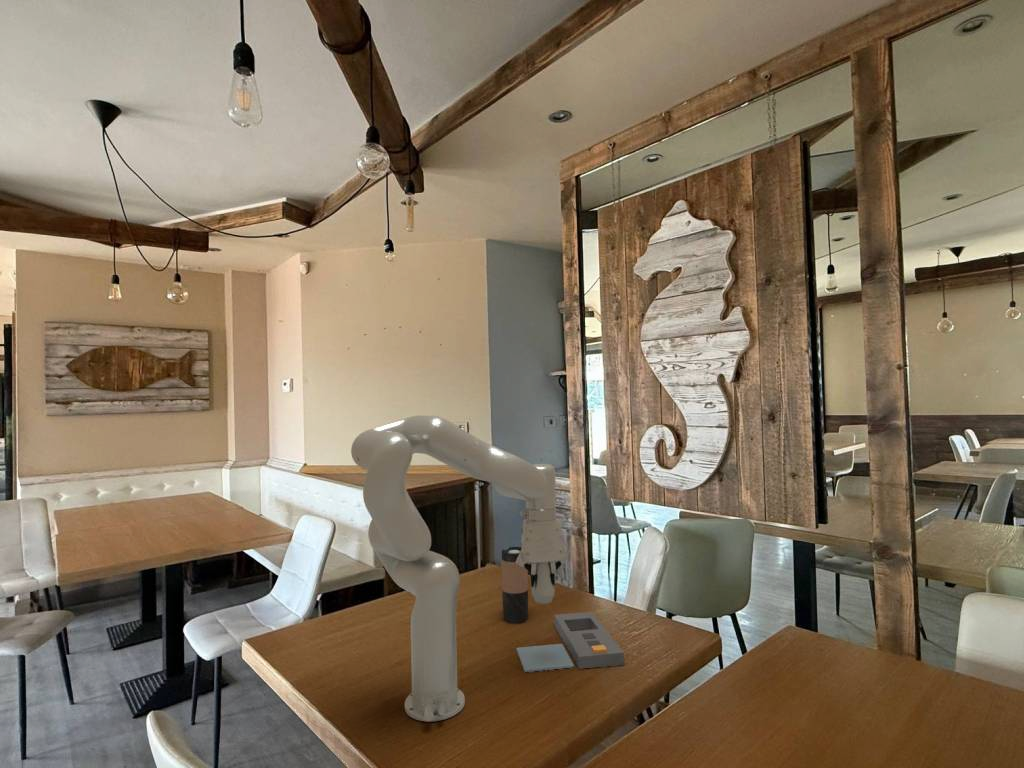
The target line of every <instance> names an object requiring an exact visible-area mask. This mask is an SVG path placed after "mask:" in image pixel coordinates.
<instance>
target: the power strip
mask: <svg viewBox="0 0 1024 768" xmlns="http://www.w3.org/2000/svg"><path fill="white" fill-rule="evenodd" d="M553 617H554V619H553V621H554V623H553V624H554V627H555V629H556V631H557V633H558V635H559V637H560V638H561V640H562V639H563V640H562V642H563V643H564V645H565V646H567V647H566V648H567V651H568V652H569V651H570V652H569V654H570V653H571V654H570V655H572V656H571V657H572V659H573V658H574V659H573V661H574V660H575V661H574V663H575V662H576V663H575V664H576V666H577V665H578V666H577V667H579V668H578V669H581V670H583V669H582V668H591V669H593V668H592V667H601V668H606V667H605V666H612V667H618V666H617V665H622V666H624V665H625V659H624V658H625V653H624V651H623V650H622V649H621V647H620V646H619V645H618V643H617V642H616V641H615V640H614V638H613V637H612V635H611V634H610V633H609V632H608V630H607V629H606V628H605V627H604V625H603V624H602V622H600V620H599V619H598V618H597V616H596V615H595V614H594V613H593V611H585V612H574V613H571V612H570V613H560V614H554V615H553ZM580 629H583V630H580ZM571 630H572V631H571ZM603 666H604V667H603Z"/></svg>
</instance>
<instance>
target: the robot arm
mask: <svg viewBox="0 0 1024 768" xmlns="http://www.w3.org/2000/svg"><path fill="white" fill-rule="evenodd" d="M350 453H351V458H352V460H353V462H354V463H355V464H356V465H357V466H358V467H359V468H361V469H363V470H366V473H365V477H364V482H363V488H362V497H363V498H362V499H363V503H364V506H365V508H366V510H367V512H368V514H369V516H370V517H371V520H370V522H369V524H368V525H369V526H368V530H367V531H368V533H367V534H368V539H369V543H370V546H371V548H372V549H373V551H374V553H375V555H376V556H377V558H378V560H379V561H380V562H381V564H382V565H383V567H384V568H385V571H387V572H386V573H388V575H389V576H390V578H391V579H392V581H393V582H394V583H395V584H396V585H397V586H399V588H401V589H402V590H404V591H407V592H408V593H411V594H412V595H413V596H415V600H414V601H415V602H414V605H413V609H412V612H411V617H410V645H411V646H410V648H411V649H410V652H411V655H410V656H411V658H410V659H411V661H410V663H411V693H409V695H408V696H406V699H405V700H404V711H405V713H406V714H407V716H409V717H410V718H412V719H414V720H417V721H420V722H439V721H445V720H447V719H450V718H453V717H454V716H456V715H457V714H459V713H460V712H461V711H462V710H463V708H464V707H465V703H466V699H465V694H464V692H463V691H462V690H460V689H459V688H458V660H457V657H458V656H457V654H458V653H457V650H458V649H457V602H458V601H457V600H458V595H459V590H460V589H459V588H460V583H461V582H460V573H459V569H458V568H457V565H456V564H455V563H454V562H453V561H452V560H451V559H450V558H449V557H447V556H445V555H443V554H440V553H438V552H435V551H432V550H430V549H431V547H432V534H431V531H430V528H429V527H428V525H427V524H426V522H425V520H424V519H423V517H422V516H421V514H420V512H419V510H418V509H417V507H416V506H415V504H414V502H413V500H412V498H411V497H410V495H409V492H408V490H407V487H406V480H407V479H406V478H407V474H408V470H409V469H410V465H411V464H412V463H411V462H412V459H413V455H414V454H424V455H427V456H429V457H431V458H434V459H435V460H437V461H439V462H441V463H443V464H445V465H446V466H448V467H451V468H452V469H454V470H456V471H458V472H459V473H461V474H463V475H465V476H467V477H470V478H473V479H476V480H480V481H484V482H488V483H493V487H494V489H495V491H496V492H497V493H498V494H500V495H501V496H503V497H506V498H510V499H511V498H512V499H515V500H516V499H517V500H522V501H523V500H524V501H525V506H524V507H525V508H524V509H523V510H520V512H519V514H520V515H519V516H520V517H524V518H525V519H524V520H523V521H522V528H521V543H520V544H521V545H520V547H521V551H520V553H519V556H518V558H517V560H516V563H517V564H518V565H520V566H522V567H524V568H526V569H527V570H528V573H530V586H531V588H532V587H533V586H534V582H535V588H536V586H537V577H538V576H537V574H536V564H537V563H546V562H549V566H550V572H551V574H550V578H551V583H552V586H553V585H554V586H555V585H556V583H555V582H556V581H555V580H556V579H555V577H556V576H555V574H556V573H557V570H558V569H560V567H561V566H562V565H563V564H565V563H566V562H568V561H569V557H568V555H567V554H566V552H565V550H564V538H563V531H562V524H561V521H560V519H559V518H557V497H556V495H557V494H556V470H555V467H554V466H553V465H552V464H549V463H535V464H532V463H531V462H528V461H527V460H525V459H523V458H521V457H519V456H517V455H515V454H512V453H510V452H508V451H505V450H503V449H501V448H499V447H497V446H494V445H492V444H490V443H487V442H485V441H483V440H481V439H480V438H477V436H475V435H473V434H472V433H469V432H467V431H466V430H464V429H462V427H460V426H458V425H456V424H454V423H453V422H451V421H450V420H448V419H446V418H444V417H442V416H439V415H413V416H409V417H405V418H403V419H399V420H395V421H393V422H390V423H387V424H384V425H380V426H377V427H373V428H369V429H367V430H364V431H362V432H361V433H359V434H358V435H357V436H356V437H355V438H354V440H353V442H352V445H351V450H350ZM523 559H524V561H523Z"/></svg>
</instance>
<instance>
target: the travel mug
mask: <svg viewBox="0 0 1024 768" xmlns="http://www.w3.org/2000/svg"><path fill="white" fill-rule="evenodd" d="M520 551H521V546H509V547H508V548H507V549H502V550H501V594H502V596H501V598H502V615H503V621H504V622H505V623H508V624H512V625H513V624H515V625H516V624H523V623H525V622H527V621H528V619H529V618H528V617H529V581H528V580H529V577H528V576H529V574H528V573H529V571H528V570H527V569H526V568H524V567H522V566H520V565H518V564H517V563H516V560H517V558H518V556H519V553H520ZM523 561H524V559H523Z"/></svg>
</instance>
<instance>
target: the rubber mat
mask: <svg viewBox="0 0 1024 768" xmlns="http://www.w3.org/2000/svg"><path fill="white" fill-rule="evenodd" d="M515 649H516V653H517V655H518V658H520V659H519V661H520V664H521V667H522V666H523V667H522V668H523V669H524V670H523V669H522V670H523V672H524V673H525V672H529V673H535V672H534V671H539V672H547V670H549V671H555V670H554V669H559V670H564V669H563V668H570V669H572V668H571V667H574V668H575V664H574V662H573V661H572V659H571V657H570V656H569V653H568V652H567V650H566V648H565V646H564V645H563V643H556V644H545V645H544V644H543V645H534V646H533V645H532V646H522V647H516V648H515ZM543 670H545V671H543Z"/></svg>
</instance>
